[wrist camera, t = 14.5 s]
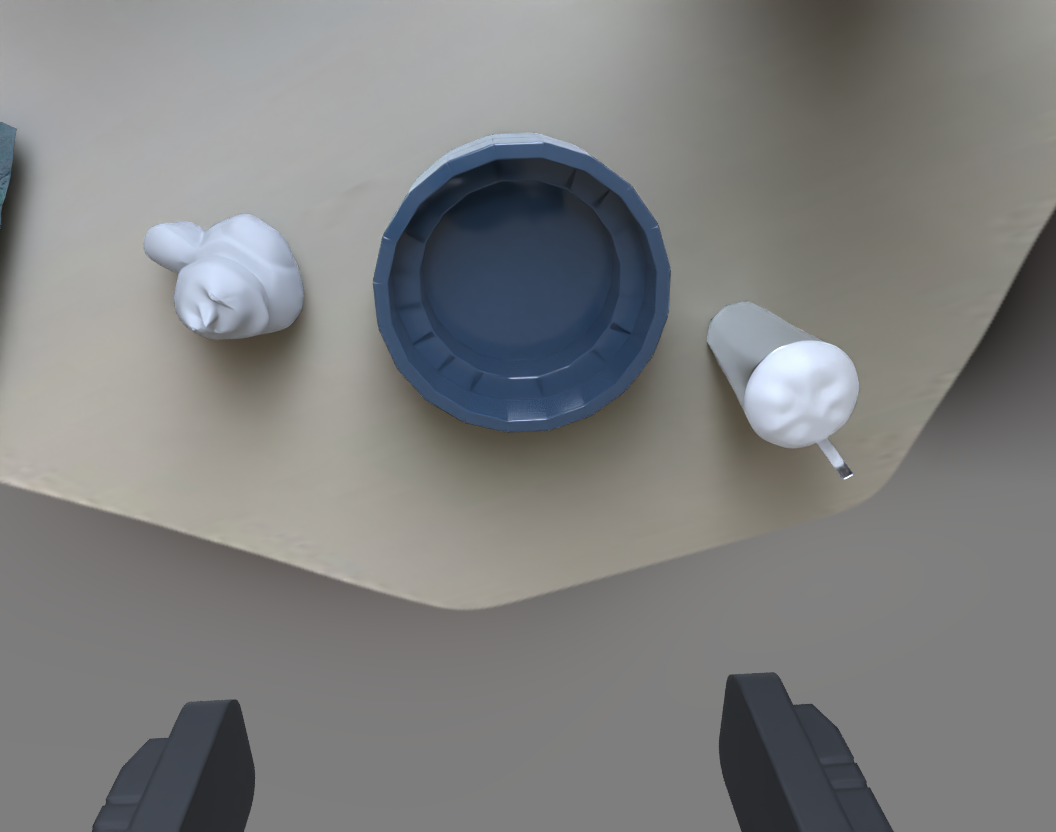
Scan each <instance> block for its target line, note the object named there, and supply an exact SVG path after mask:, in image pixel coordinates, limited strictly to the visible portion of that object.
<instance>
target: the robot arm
mask: <svg viewBox="0 0 1056 832" xmlns="http://www.w3.org/2000/svg"><path fill="white" fill-rule="evenodd" d="M719 754H720V764H721V768H722V774H723V778H724V781H725V784H726V787H727V790H728V793H729V796H730V799H731V802H732V805H733V808H734V811H735V813H736V817H737V819H738V822H739V825H740V828H741V831H742V832H893V830H892V828H891V826H890V824H889V822H888V820H887V819H886V817H885V815H884V813H883V811H882V809H881V807H880V806H879V804H878V802H877V800H876V798H875V796H874V794H873V793H872V791H871V789H870V788H868V787H867V784H866V780H865V778H864V776H863V774H862V772H861V770H860V768H859V766H858V765H857V763H854V757H853V755H852V754H851V752H850V750H849V748H848V746H847V744H846V743H845V740H844V739H843V737H842V735H841V733H840V731H839V729H838V728H837V727H836V726H835V725H834V724H833V723H832V722H831V721H830V720H829V719H828V718H826V717H825V716H824V715H823V714H822V713H821V712H820V711H819V710H818V709H817V708H816V707H815V706H814V705H813V704H801V705H793V704H792V702H791V700H790V698H789V696H788V693H787V692H786V689H785V687H784V685H783V683H782V682H781V679H780V678H779V676H778V675H777V674H776V673H774V672H771V673H752V674H735V675H734V674H733V675H729V677H728V679H727V683H726V690H725V698H724V706H723V714H722V721H721V729H720V737H719ZM254 787H255V769H254V763H253V758H252V754H251V750H250V745H249V741H248V737H247V733H246V728H245V724H244V719H243V715H242V711H241V707H240V704H239V703H238V701H237V700H216V701H197V702H188V703H186V704H185V705H184V707H183V708H182V710H181V712H180V714H179V716H178V718H177V720H176V722H175V725H174V727H173V729H172V731H171V734H170V736H169V738H157V739H149V740H148V741H147V742H146V743H145V744H144V745H143V746H142V747H141V748H140V749H139V750H138V751H137V753H135V755H134V756H133V757H132V758H131V759H130V760H129V761H128V762H127V763H126V764H125V765H124V766H123V767H122V769H121V770H120V772H119V775H118V776H117V778H116V780H115V782H114V784H113V786H112V788H111V790H110V792H109V794H108V796H107V798H106V804H105V806H102V808H101V810H100V812H99V814H98V816H97V818H96V820H95V822H94V824H93V830H92V832H244V829H245V826H246V823H247V819H248V816H249V813H250V810H251V806H252V801H253V795H254Z"/></svg>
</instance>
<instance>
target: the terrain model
mask: <svg viewBox="0 0 1056 832" xmlns="http://www.w3.org/2000/svg"><path fill="white" fill-rule="evenodd" d="M16 130H17V129H16V128H14V127H11V126H9V125H7V124H4V123H2V122H0V227H1V209H2V204H3V201H4V199H5V195H6V192H7V188H8V185H9V181H10V178H11V168H12V161H13V149H14V142H15V135H16Z"/></svg>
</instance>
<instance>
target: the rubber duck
mask: <svg viewBox="0 0 1056 832" xmlns="http://www.w3.org/2000/svg"><path fill="white" fill-rule="evenodd" d="M143 245H144V250H145V253H146V255H147V256H148V257H149V258H150V259H151V260H153V261H154V262H156V263H158V264H159V265H161V266H163V267H165V268H167V269H169V270H171V271H174V272H176V273H179V274H178V278H177V283H176V288H175V293H174V304H175V309H176V313H177V315H178V317H179V319H180V321H181V322H182V323H183V324H184V325H185V326H186V327H187V328H189V329H190V330H192V331H193V332H195V333H197V334H199V335H201V336H203V337H206V338H210V339H239V338H246V337H251V336H256V335H261V334H266V333H271V332H275V331H280V330H283V329H285V328H287V327H289V326H290V325H291V324H292V323H293V322H294V321H295V320H296V318H297V317H298V315H299V313H300V312H301V310H302V307H303V299H304V290H303V285H302V280H301V276H300V272H299V269H298V266H297V263H296V262H295V260H294V259H293V255H292V252H291V250H290V248H289V246H288V244H287V242H286V241H285V239H284V238H283V236H282V235H281V234H280V233H279V232H278V231H276V230H275V229H274V228H272V227H271V226H269V225H268V224H266V223H265V222H263V221H262V220H260V219H259V218H257V217H255V216H253V215H251V214H240V215H236V216H233V217H231V218H229V219H227V220H225V221H222V222H219V223H217V224H215V225H214V226H212V227H211V228H210V229H208V230H207V231H204V230H203V229H202V228H201V227H199V226H198V225H196V224H194V223H191V222H187V221H181V222H176V223H162V224H157V225H155V226H153V227H152V228H150V229H149V231H148V232H147V233H146V235H145V238H144V243H143Z"/></svg>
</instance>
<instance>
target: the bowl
mask: <svg viewBox="0 0 1056 832" xmlns="http://www.w3.org/2000/svg"><path fill="white" fill-rule="evenodd" d="M670 277H671V270H670V264H669V261H668V257H667V253H666V250H665V246H664V243H663V239H662V235H661V232H660V228H659V226H658V223H657V222H656V220H655V219H654V217H653V216H652V214H651V213H650V211H649V210H648V208H647V207H646V206H645V204H644V203H643V201H642V200H641V198H640V197H639V195H638V194H637V192H636V191H635V190H634V188H633V187H632V186H631V185H630V184H629V183H628V182H626V181H625V180H624V179H622V178H621V177H620V176H618V175H617V174H616V173H614V172H613V171H612V170H610V169H609V168H608V167H606V166H605V165H604V164H602V163H601V162H599V161H598V160H597V159H595V158H594V157H593V156H591V155H590V154H589V153H587V152H586V151H584V150H583V149H582V148H580V147H578V146H577V145H574V144H571V143H568V142H564V141H561V140H558V139H555V138H551V137H548V136H545V135H542V134H539V133H511V134H492V135H488V136H486V137H483V138H480V139H478V140H475V141H473V142H470V143H467V144H465V145H462V146H460V147H457V148H454V149H452V150H451V151H449V152H447V153H446V154H445V155H444V156H443V157H441V158H440V159H439V160H438V161H437V162H435V163H434V164H433V165H432V166H431V167H429V168H428V169H427V170H426V171H425V172H424V173H422V174H421V175H420V176H419V177H418V178H417V180H415V181H414V183H413V185H412V186H411V188H410V190H409V191H408V193H407V195H406V196H405V198H404V200H403V201H402V203H401V205H400V206H399V208H398V210H397V211H396V213H395V215H394V217H393V218H392V220H391V222H390V224H389V225H388V227H387V229H386V231H385V232H384V234H383V237H382V241H381V245H380V250H379V255H378V259H377V264H376V269H375V273H374V278H373V289H374V298H375V307H376V316H377V324H378V327H379V331H380V333H381V335H382V338H383V340H384V342H385V344H386V346H387V348H388V351H389V353H390V355H391V357H392V359H393V361H394V364H395V366H396V367H397V369H398V371H399V372H400V373H401V374H402V375H403V376H404V377H405V378H406V379H407V380H408V381H409V382H410V384H411V385H412V386H413V387H414V388H415V389H416V390H417V391H418V392H419V393H420V394H421V395H422V397H423V398H424V399H425V400H426V401H428V402H430V403H431V404H433V405H435V406H437V407H438V408H440V409H442V410H443V411H445V412H447V413H449V414H450V415H452V416H454V417H456V418H457V419H459V420H461V421H462V422H465V423H468V424H472V425H476V426H481V427H485V428H489V429H493V430H497V431H502V432H508V433H509V432H529V431H548V430H553V429H556V428H559V427H561V426H564V425H567V424H570V423H573V422H576V421H579V420H582V419H584V418H587V417H590V416H592V415H593V414H594V413H596V412H597V411H599V410H600V409H601V408H603V407H604V406H606V405H607V404H608V403H610V402H611V401H613V400H614V399H615V398H617V397H618V396H620V395H621V394H622V393H624V392H625V390H627V389H628V387H629V386H630V385H631V384H632V382H633V381H634V380H635V378H636V377H637V376H638V375H639V373H640V372H641V371H642V369H643V368H644V367H645V366H646V364H647V363H648V362H649V360H650V359H651V358H652V356H653V354H654V352H655V349H656V347H657V344H658V341H659V339H660V336H661V333H662V331H663V328H664V325H665V323H666V320H667V317H668V313H669V297H670Z"/></svg>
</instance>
